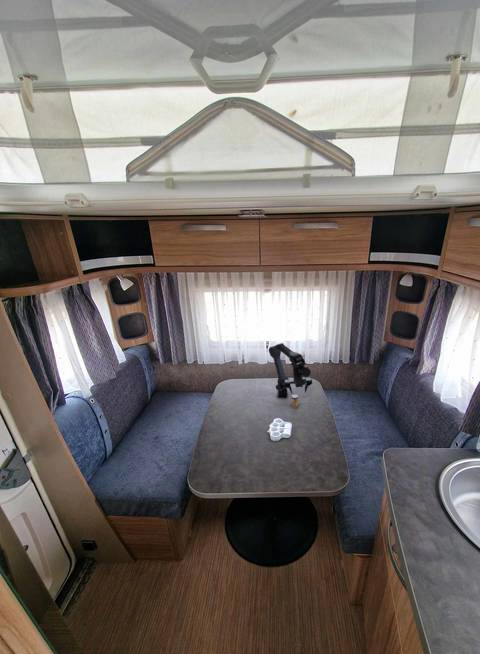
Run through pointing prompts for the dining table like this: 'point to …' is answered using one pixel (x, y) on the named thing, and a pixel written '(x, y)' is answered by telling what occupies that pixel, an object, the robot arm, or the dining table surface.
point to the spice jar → (294, 401)
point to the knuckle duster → (279, 429)
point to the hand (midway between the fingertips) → (298, 393)
